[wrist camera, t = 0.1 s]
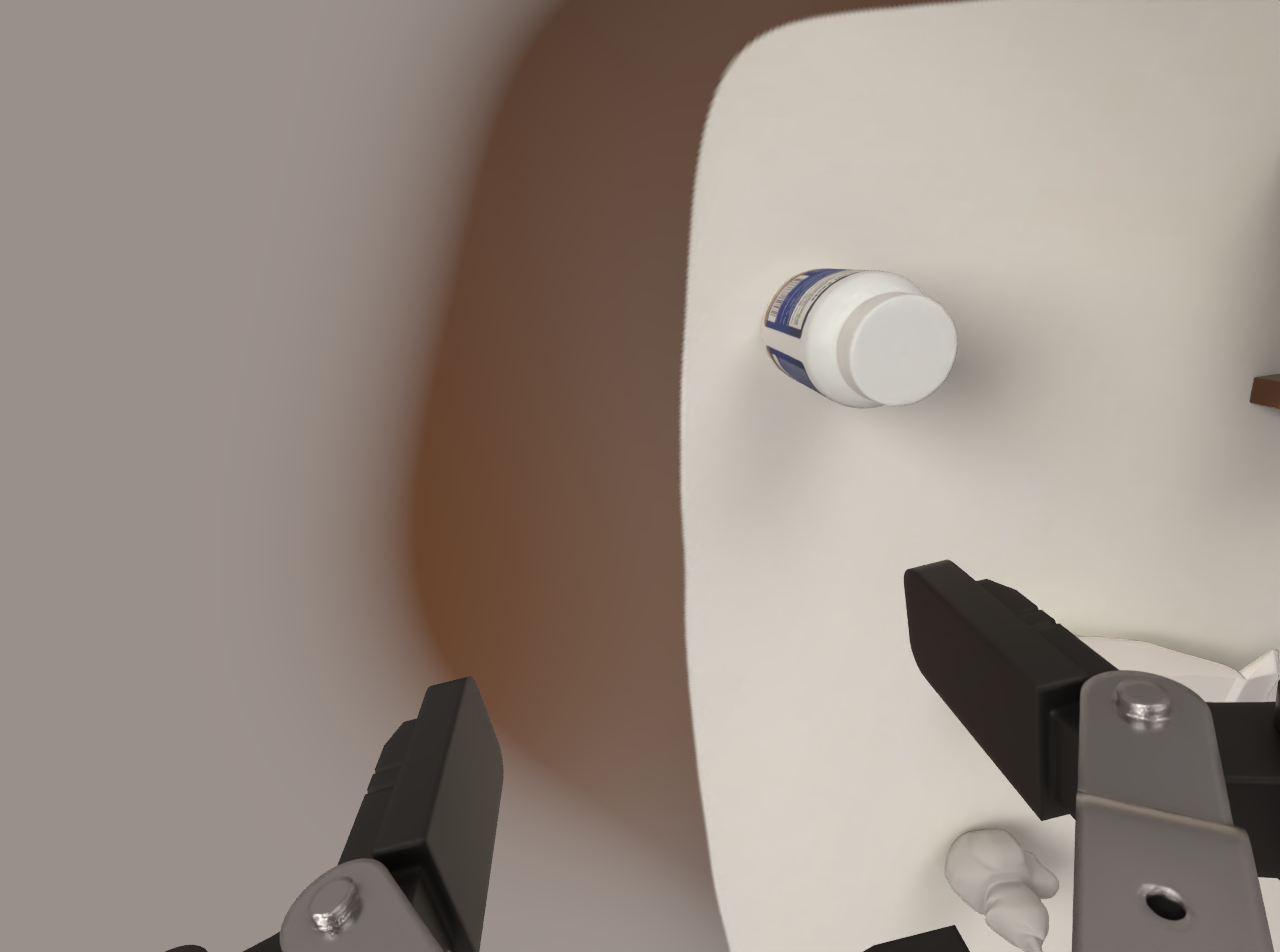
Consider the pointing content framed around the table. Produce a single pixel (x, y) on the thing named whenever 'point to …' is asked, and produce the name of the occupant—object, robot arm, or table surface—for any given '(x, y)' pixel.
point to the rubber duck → (1002, 885)
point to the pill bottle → (859, 336)
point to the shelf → (1266, 391)
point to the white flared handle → (1193, 669)
